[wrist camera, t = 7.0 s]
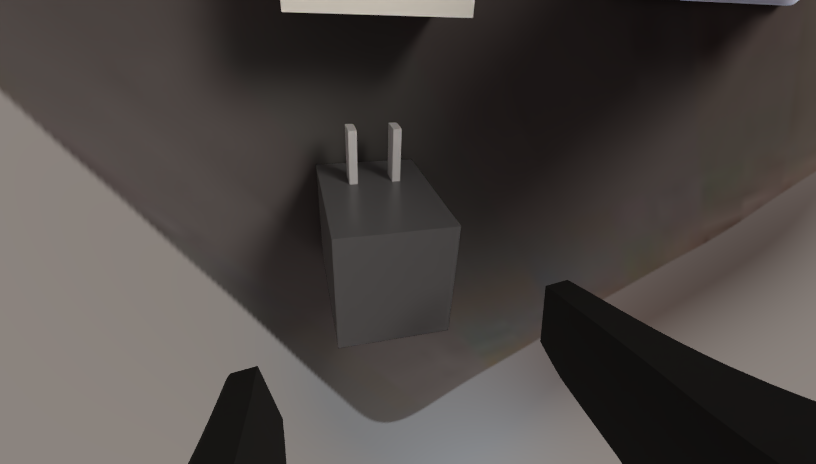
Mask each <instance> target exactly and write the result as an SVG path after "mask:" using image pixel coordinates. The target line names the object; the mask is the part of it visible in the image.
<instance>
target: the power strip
mask: <svg viewBox="0 0 816 464" xmlns="http://www.w3.org/2000/svg"><path fill="white" fill-rule="evenodd" d="M474 3H475V0H280V4H281V12H297V13H329V14H361V15H393V16H424V17H456V18H473V12H474Z"/></svg>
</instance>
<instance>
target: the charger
mask: <svg viewBox="0 0 816 464" xmlns="http://www.w3.org/2000/svg"><path fill="white" fill-rule="evenodd" d="M401 138H402V129H401V127H400V126H399V125H398V124H397V122H394V123H388V160H385V161H367V162H357V130H356V128H355V126H354V124H345V143H346V163H332V164H316V172H317V185H318V198H319V211H320V225H321V238H322V251H323V259H324V265H325V271H326V277H327V284H328V290H329V296H330V302H331V308H332V314H333V320H334V326H335V332H336V338H337V344H338V348H343V347H349V346H355V345H361V344H367V343H373V342H379V341H385V340H391V339H397V338H403V337H409V336H415V335H421V334H427V333H433V332H439V331H445V330H448V327H449V319H450V311H451V303H452V295H453V287H454V279H455V272H456V264H457V256H458V248H459V240H460V232H461V225H460V224H459V223H458V221H457V220H456V218H455V217H454V216H453V214H452V213H451V212H450V210H449V209H448V208H447V206H446V205H445V204H444V202H443V201H442V200H441V198H440V197H439V196H438V194H437V193H436V191H435V190H434V189H433V187H432V186H431V185H430V183H429V182H428V181H427V179H426V178H425V177H424V175H423V174H422V173H421V171H420V170H419V169H418V167H417V166H416V164H415V163H414V162H413V160H412V159H403V160H401Z"/></svg>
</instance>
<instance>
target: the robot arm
mask: <svg viewBox="0 0 816 464" xmlns="http://www.w3.org/2000/svg"><path fill="white" fill-rule="evenodd" d="M682 1H702V2H723V3H743V4H763V5H784V6H790V5H793V4H795V3H796V2H798V0H682ZM540 341H541V343H542V345H543V347H544V349H545V351H546V353H547V355H548V356H549V358H550V360H551V362H552V364H553V365H554V367H555V369H556V371H557V372H558V374H559V376H560V378H561V379H562V380H563V382H564V383H565V385H566V386H567V387H568V389H569V390H570V392H571V393H572V394H573V396H574V397H575V399H576V400H577V401H578V403H579V404H580V406H581V407H582V408H583V410H584V411H585V413H586V414H587V415H588V417H589V418H590V419H591V421H592V422H593V423H594V425H595V426H596V428H597V429H598V430H599V431H600V433H601V434H602V436H603V437H604V439H605V440H606V441H607V443H608V444H609V445H610V447H611V448H612V449H613V451H614V452H615V454H616V455H617V456H618V458H619V459H620V461H621V462H622V464H816V401H813V400H810V399H808V398H805V397H802V396H800V395H797V394H794V393H792V392H789V391H787V390H784V389H782V388H779V387H777V386H774V385H772V384H769V383H767V382H765V381H762V380H760V379H758V378H755V377H753V376H750V375H748V374H746V373H744V372H741V371H739V370H737V369H734V368H732V367H730V366H728V365H725V364H723V363H721V362H719V361H717V360H715V359H713V358H710V357H708V356H706V355H704V354H702V353H700V352H698V351H696V350H694V349H692V348H690V347H688V346H686V345H684V344H682V343H680V342H678V341H676V340H674V339H672V338H670V337H669V336H667V335H665V334H663V333H661V332H659V331H657V330H655V329H653V328H652V327H650V326H648V325H646V324H644V323H642V322H641V321H639V320H637V319H635V318H633V317H632V316H630V315H628V314H626V313H625V312H623V311H621V310H619V309H618V308H616V307H614V306H612V305H611V304H608V303H607V302H605V301H604V300H602V299H600V298H598V297H597V296H595V295H593V294H592V293H590V292H588V291H586V290H585V289H583V288H581V287H579V286H577V285H576V284H574V283H572V282H570V281H568V280H566V281H562V282H558V283H555V284H551V285H548V286H546V289H545V299H544V310H543V320H542V330H541V340H540ZM188 464H286V454H285V440H284V430H283V419H282V417H281V414H280V412H279V410H278V408H277V406H276V404H275V402H274V400H273V397H272V396H271V393H270V391H269V389H268V387H267V385H266V383H265V381H264V379H263V376H262V374H261V372H260V370H259V368H258V366H256V367H252V368H249V369H245V370H242V371H238V372H234V373H231V374H230V375H229V376H228V378H227V379H226V381H225V384H224V386H223V389H222V391H221V393H220V396H219V398H218V400H217V403H216V405H215V407H214V410H213V412H212V414H211V416H210V419H209V421H208V423H207V425H206V427H205V430H204V432H203V434H202V436H201V438H200V440H199V442H198V444H197V447H196V449H195V451H194V453H193V455H192V457H191V459H190V461H189V463H188Z"/></svg>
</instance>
